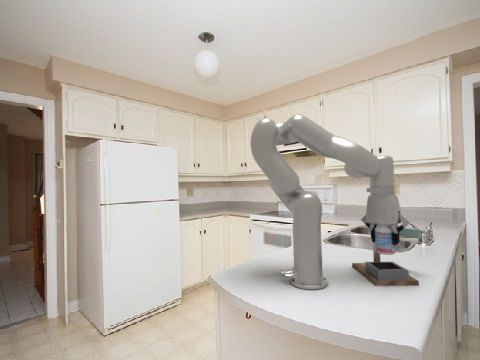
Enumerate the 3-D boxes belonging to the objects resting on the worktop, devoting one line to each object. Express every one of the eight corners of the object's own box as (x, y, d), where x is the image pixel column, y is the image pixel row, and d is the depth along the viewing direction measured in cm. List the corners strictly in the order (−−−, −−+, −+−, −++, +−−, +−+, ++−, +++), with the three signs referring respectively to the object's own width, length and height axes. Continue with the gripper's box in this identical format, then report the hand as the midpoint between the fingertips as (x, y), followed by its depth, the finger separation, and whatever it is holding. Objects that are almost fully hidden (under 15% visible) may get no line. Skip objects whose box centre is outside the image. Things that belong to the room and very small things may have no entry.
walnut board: (374, 285, 86) (374, 281, 86) (352, 266, 106) (352, 263, 106) (418, 285, 85) (418, 280, 85) (387, 266, 105) (387, 262, 105)
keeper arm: (368, 232, 104) (368, 225, 104) (373, 231, 106) (372, 224, 106) (417, 238, 90) (417, 230, 91) (421, 237, 93) (421, 228, 93)
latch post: (375, 265, 102) (374, 234, 102) (372, 263, 104) (371, 233, 105) (381, 265, 102) (380, 234, 102) (378, 263, 104) (377, 232, 105)
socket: (378, 281, 86) (377, 270, 86) (365, 271, 95) (365, 261, 95) (408, 280, 85) (407, 270, 85) (392, 271, 95) (392, 261, 95)
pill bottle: (374, 253, 90) (372, 221, 90) (377, 249, 95) (376, 219, 95) (394, 256, 86) (392, 222, 87) (397, 252, 91) (395, 219, 91)
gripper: (353, 192, 95) (355, 241, 95) (406, 191, 82) (409, 249, 81) (363, 191, 100) (365, 238, 100) (414, 190, 87) (417, 245, 86)
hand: (384, 242), depth 91 cm, fingers closed on pill bottle, 6 cm apart
